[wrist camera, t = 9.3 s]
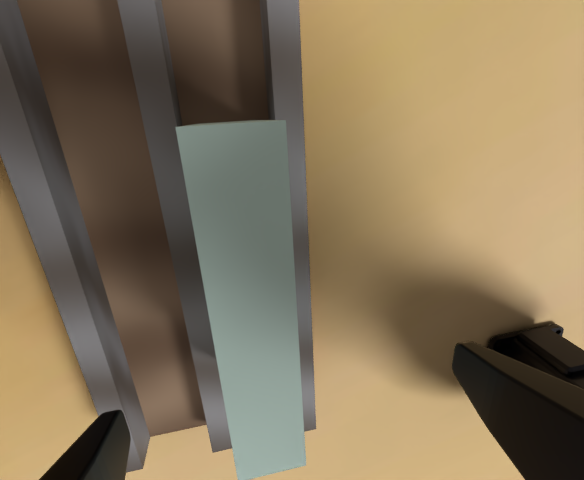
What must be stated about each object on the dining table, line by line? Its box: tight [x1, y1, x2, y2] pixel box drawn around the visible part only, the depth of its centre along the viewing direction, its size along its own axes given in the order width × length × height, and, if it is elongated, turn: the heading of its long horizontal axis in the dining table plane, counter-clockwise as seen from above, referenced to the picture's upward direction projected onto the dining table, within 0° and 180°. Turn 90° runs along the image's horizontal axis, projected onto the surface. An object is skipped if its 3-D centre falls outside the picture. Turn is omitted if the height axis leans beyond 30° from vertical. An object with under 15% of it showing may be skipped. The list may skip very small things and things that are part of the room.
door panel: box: [175, 120, 306, 480], centre depth 13 cm, size 12×2×8 cm, turn 3°
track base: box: [0, 0, 316, 472], centre depth 16 cm, size 24×12×4 cm, turn 3°
